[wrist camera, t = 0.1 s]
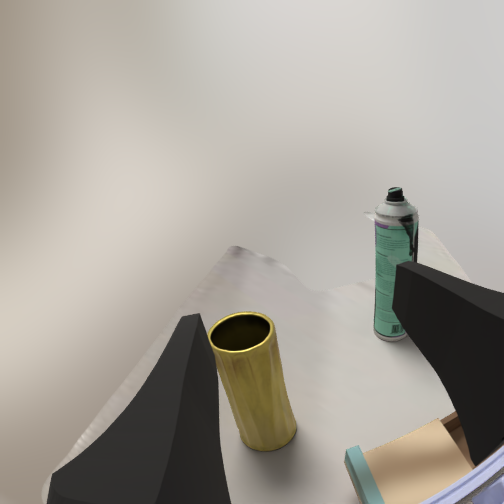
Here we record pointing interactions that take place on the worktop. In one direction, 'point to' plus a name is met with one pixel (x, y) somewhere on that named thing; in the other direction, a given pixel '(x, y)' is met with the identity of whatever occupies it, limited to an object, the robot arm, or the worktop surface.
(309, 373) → the worktop surface
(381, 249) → the spray can
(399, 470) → the tan panel teal strip
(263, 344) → the vase
